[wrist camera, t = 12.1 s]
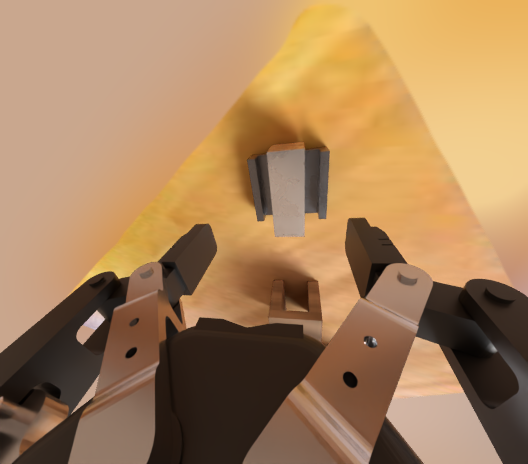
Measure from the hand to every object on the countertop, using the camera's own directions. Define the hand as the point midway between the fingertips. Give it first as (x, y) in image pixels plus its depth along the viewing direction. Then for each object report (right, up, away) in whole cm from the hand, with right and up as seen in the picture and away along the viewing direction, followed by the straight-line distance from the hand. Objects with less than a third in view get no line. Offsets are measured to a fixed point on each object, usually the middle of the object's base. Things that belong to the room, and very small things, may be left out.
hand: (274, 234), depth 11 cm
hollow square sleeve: (+7, -14, +30) cm, 34 cm away
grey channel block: (+3, +7, +17) cm, 18 cm away
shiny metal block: (+3, +7, +16) cm, 17 cm away
